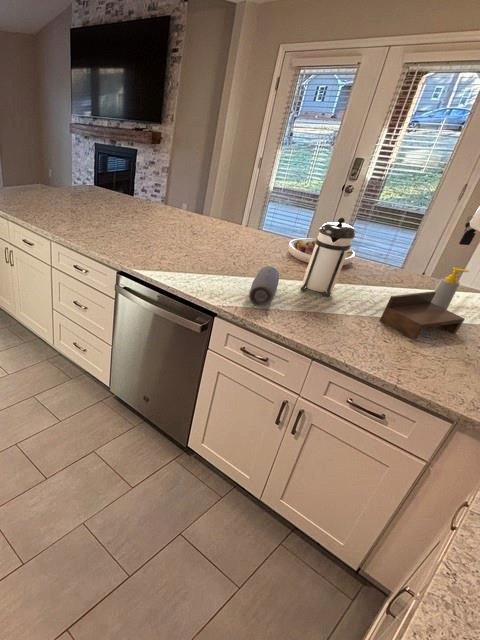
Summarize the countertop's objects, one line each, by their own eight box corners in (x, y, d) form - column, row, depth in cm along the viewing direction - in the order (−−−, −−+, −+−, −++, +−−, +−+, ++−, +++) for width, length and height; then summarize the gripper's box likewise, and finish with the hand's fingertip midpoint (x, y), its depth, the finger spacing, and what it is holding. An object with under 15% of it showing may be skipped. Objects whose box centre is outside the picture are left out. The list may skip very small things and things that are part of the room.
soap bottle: (445, 317, 156) (470, 273, 146) (423, 312, 159) (446, 268, 150) (444, 311, 161) (468, 267, 151) (422, 306, 164) (445, 263, 154)
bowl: (302, 243, 225) (306, 229, 220) (360, 259, 207) (366, 244, 202) (275, 255, 207) (280, 240, 203) (336, 274, 189) (343, 257, 185)
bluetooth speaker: (253, 285, 175) (259, 262, 169) (276, 290, 172) (283, 267, 166) (244, 306, 158) (250, 282, 152) (269, 312, 154) (277, 287, 149)
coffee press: (345, 297, 169) (376, 223, 152) (310, 298, 166) (337, 223, 150) (320, 279, 183) (345, 210, 166) (287, 281, 180) (309, 211, 164)
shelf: (456, 333, 146) (471, 308, 141) (413, 339, 141) (427, 314, 136) (420, 315, 157) (433, 291, 152) (379, 320, 152) (391, 295, 147)
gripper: (541, 203, 119) (505, 259, 128) (496, 189, 133) (467, 241, 142) (514, 201, 119) (481, 258, 128) (472, 188, 133) (445, 240, 143)
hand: (474, 249), depth 135 cm, fingers open, 9 cm apart
